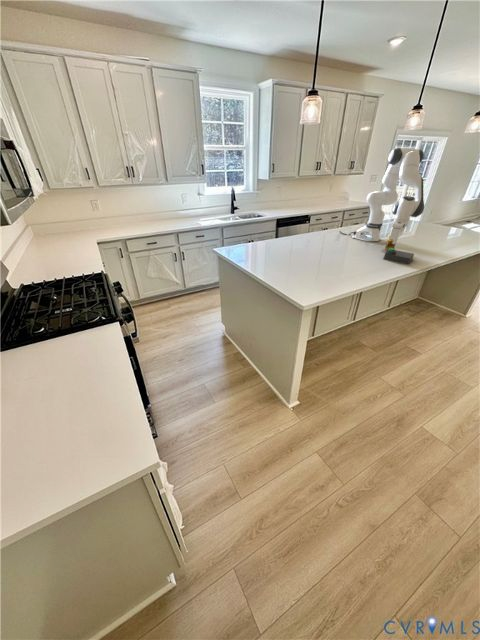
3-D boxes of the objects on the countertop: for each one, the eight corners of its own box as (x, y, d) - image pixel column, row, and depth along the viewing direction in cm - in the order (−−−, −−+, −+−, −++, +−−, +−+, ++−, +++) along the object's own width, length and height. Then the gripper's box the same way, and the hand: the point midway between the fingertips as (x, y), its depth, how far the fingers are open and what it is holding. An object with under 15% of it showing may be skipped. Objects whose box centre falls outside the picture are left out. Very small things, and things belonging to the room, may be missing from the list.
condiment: (382, 251, 200) (387, 236, 194) (385, 249, 206) (390, 233, 199) (392, 253, 196) (397, 237, 190) (395, 250, 202) (400, 235, 195)
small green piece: (387, 251, 184) (388, 248, 183) (389, 249, 186) (389, 247, 185) (393, 252, 182) (393, 249, 181) (394, 251, 184) (395, 248, 183)
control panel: (382, 258, 187) (385, 250, 184) (387, 254, 195) (390, 246, 192) (408, 264, 178) (411, 256, 174) (412, 259, 186) (415, 251, 183)
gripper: (399, 220, 182) (393, 239, 189) (391, 225, 169) (385, 245, 176) (409, 221, 178) (402, 241, 186) (402, 226, 165) (395, 247, 173)
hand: (394, 243), depth 181 cm, fingers closed
